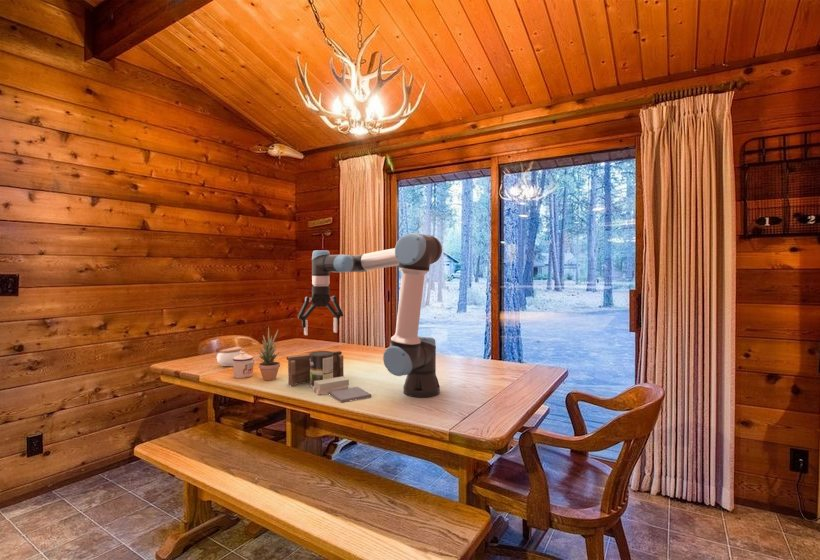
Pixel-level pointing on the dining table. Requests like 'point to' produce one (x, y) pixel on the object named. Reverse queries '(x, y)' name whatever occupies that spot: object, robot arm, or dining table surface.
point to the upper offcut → (331, 383)
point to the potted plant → (269, 359)
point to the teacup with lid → (243, 365)
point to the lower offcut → (328, 390)
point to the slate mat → (349, 394)
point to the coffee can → (320, 366)
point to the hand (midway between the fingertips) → (320, 333)
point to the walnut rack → (301, 367)
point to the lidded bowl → (227, 354)
